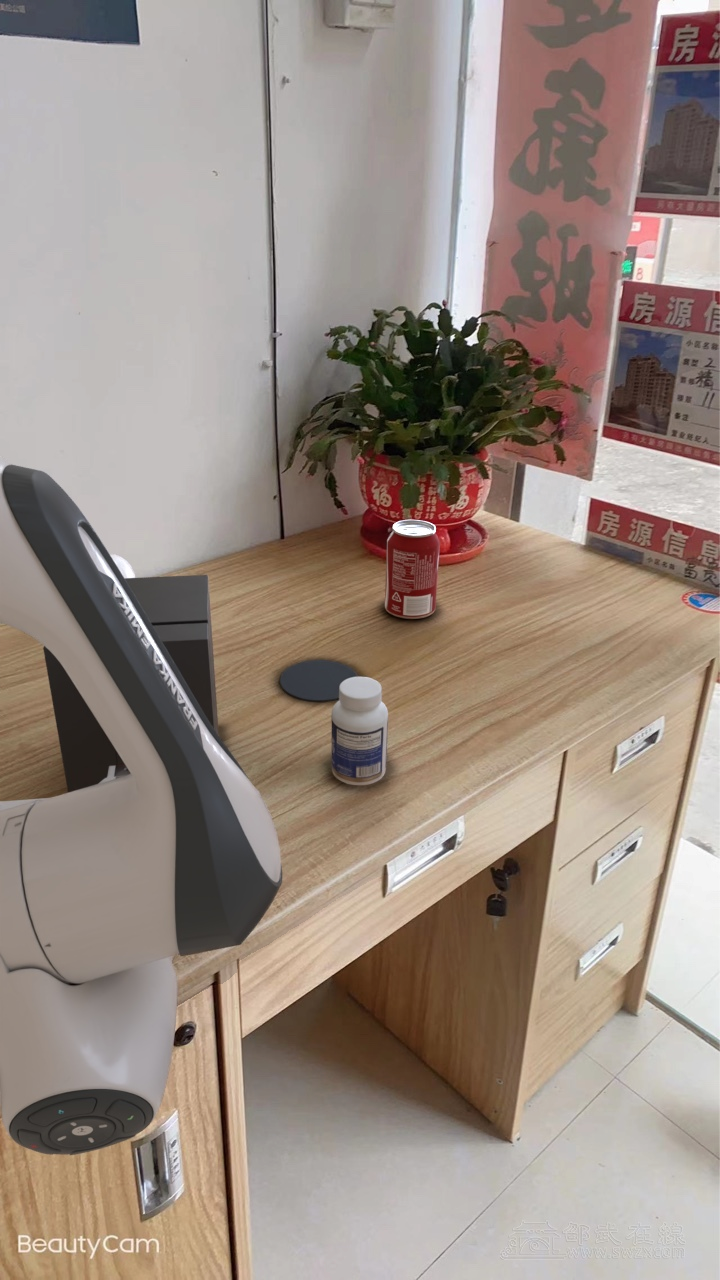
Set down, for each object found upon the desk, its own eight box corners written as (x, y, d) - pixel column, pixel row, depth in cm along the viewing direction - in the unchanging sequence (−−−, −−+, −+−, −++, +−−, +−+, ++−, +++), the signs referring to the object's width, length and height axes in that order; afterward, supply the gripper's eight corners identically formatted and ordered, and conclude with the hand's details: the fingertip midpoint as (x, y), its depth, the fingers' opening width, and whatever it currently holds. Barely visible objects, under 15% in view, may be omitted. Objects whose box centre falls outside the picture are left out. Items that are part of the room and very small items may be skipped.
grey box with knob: (73, 823, 79) (42, 647, 70) (90, 740, 90) (65, 580, 82) (219, 812, 81) (207, 639, 72) (218, 732, 92) (208, 574, 83)
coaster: (282, 707, 96) (282, 702, 96) (277, 666, 104) (277, 662, 104) (364, 702, 98) (364, 697, 97) (352, 662, 106) (352, 657, 105)
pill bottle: (343, 750, 90) (344, 667, 85) (393, 762, 88) (397, 679, 83) (322, 780, 85) (322, 695, 81) (374, 794, 83) (377, 707, 79)
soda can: (437, 623, 115) (443, 537, 109) (385, 622, 115) (388, 536, 109) (433, 601, 121) (438, 518, 115) (383, 600, 121) (386, 517, 115)
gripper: (271, 848, 58) (260, 729, 70) (-60, 876, 55) (-12, 747, 67) (273, 919, 61) (262, 793, 73) (-41, 948, 58) (3, 812, 70)
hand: (129, 771), depth 70 cm, fingers closed
